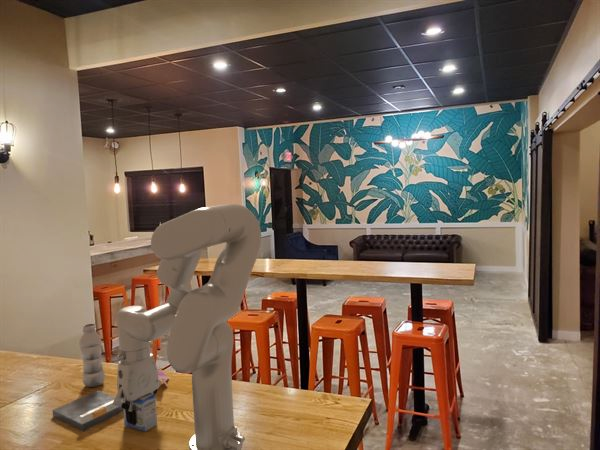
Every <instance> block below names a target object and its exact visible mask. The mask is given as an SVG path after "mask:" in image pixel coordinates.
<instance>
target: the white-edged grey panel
mask: <svg viewBox="0 0 600 450" xmlns="http://www.w3.org/2000/svg"><path fill="white" fill-rule="evenodd" d="M115 397H116V396H114V395H111V394H109V393H106V392H103V391H101V390H95V391H93V392H91V393H88V394H86V395H83V396H82V397H79V398H77V399H75V400H72V401H70V402H68V403H66V404H63V405H60V406H58V407H57V408H54V409H52V411H51V412H52V417H53V418H55V419H56V420H58V421H61V422H63V423H65V424H67V425H69V426H71V427H73V428H75V429H77V430H79V431H80V432H85V431H87V430H89V429H91V428H93V427H95V426H97V425H99V424H101V423H103V422H105V421H107V420H109V419H111V418H113V417H115V416H117V415H120V414H121V413H124V411H123V408H121V407H119V406H116V405H113V401H114V399H115ZM121 401H122V402H123V398H122V400H121Z"/></svg>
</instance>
